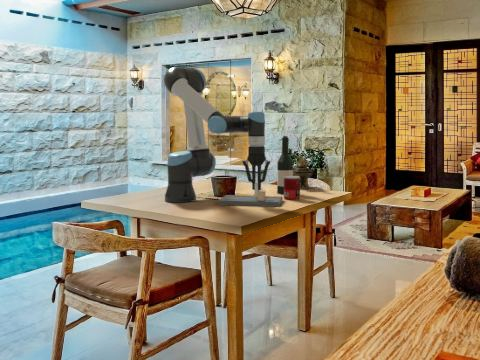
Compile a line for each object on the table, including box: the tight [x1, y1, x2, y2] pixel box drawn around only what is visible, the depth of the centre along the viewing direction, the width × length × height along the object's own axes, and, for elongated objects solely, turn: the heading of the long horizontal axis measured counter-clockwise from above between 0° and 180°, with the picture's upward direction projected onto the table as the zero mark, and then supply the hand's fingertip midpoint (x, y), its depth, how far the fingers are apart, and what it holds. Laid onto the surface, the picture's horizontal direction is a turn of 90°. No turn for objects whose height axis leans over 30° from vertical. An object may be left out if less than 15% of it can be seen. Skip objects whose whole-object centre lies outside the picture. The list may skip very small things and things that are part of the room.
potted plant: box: [293, 152, 313, 190], centre depth 291 cm, size 20×10×20 cm, turn 7°
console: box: [218, 194, 283, 207], centre depth 245 cm, size 28×16×2 cm, turn 80°
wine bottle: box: [276, 135, 294, 195], centre depth 271 cm, size 8×8×30 cm
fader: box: [258, 190, 266, 201], centre depth 239 cm, size 3×5×4 cm, turn 170°
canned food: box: [283, 176, 301, 201], centre depth 255 cm, size 8×8×11 cm
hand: (256, 196), depth 239 cm, fingers closed
